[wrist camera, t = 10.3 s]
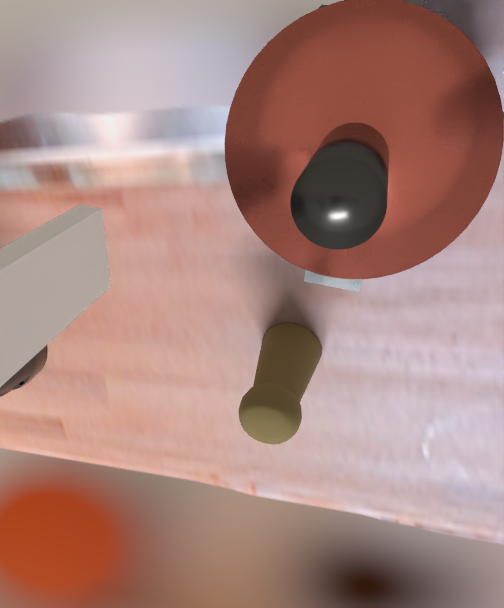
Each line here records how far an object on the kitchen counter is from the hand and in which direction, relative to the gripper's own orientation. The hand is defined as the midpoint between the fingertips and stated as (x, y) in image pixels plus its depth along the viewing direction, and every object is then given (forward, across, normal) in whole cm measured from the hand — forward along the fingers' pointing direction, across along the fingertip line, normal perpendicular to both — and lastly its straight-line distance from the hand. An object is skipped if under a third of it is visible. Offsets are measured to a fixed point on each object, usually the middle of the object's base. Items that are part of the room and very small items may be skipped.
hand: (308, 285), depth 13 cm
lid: (+18, 0, 0) cm, 18 cm away
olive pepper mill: (+24, -3, -21) cm, 32 cm away
